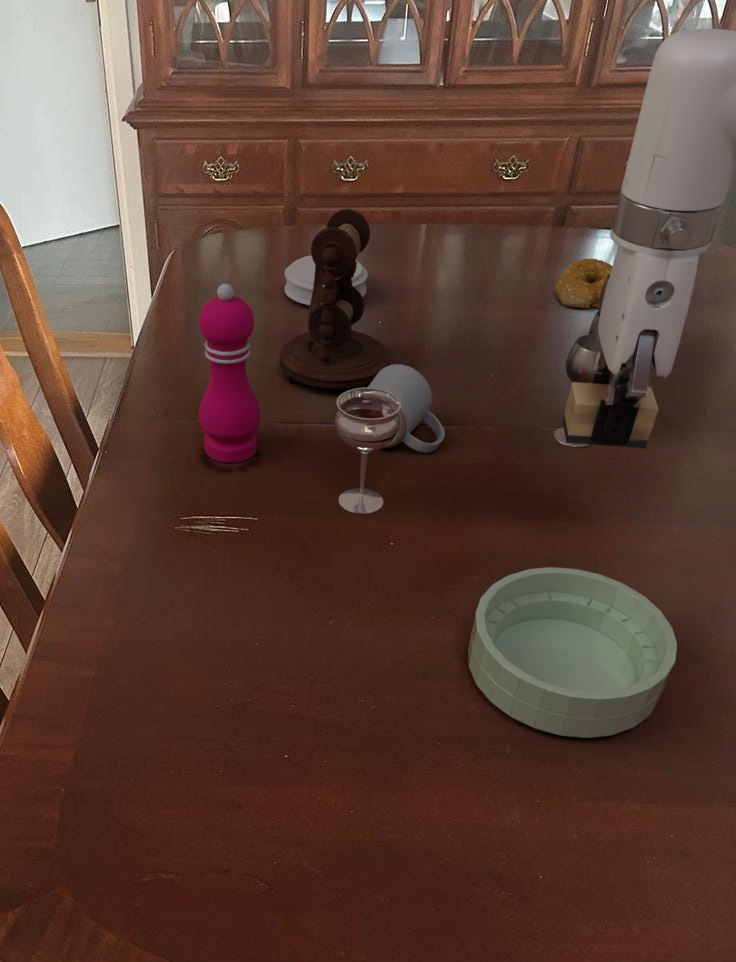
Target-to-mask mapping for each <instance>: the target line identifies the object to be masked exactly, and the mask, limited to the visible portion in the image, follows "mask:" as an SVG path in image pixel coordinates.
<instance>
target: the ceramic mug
mask: <svg viewBox="0 0 736 962" xmlns="http://www.w3.org/2000/svg"><path fill="white" fill-rule="evenodd" d="M366 388H377V389H382V390H385V391H388V392H391V393H393V394H394V395H395V396H397V397H398V398H399V400H400V401H401V408H400V410H399V411H398V413H399V417H400V426H399V431H398V432H397V434H396V436H395V437H394V439H393V440H392V441H391V442H390V443H389V444H387V445H386V446H384V447H383V448H382V449H390V448H393V447H396V446H397V445H399V444H400V443H403V444H405V446H407V447H408V448H410V449H412V450H414V451H416V452H418V453H423V454H427V453H432V452H434V451H435V450H436V451H437V449H438V448H439V447H440V445H441V444H442V443H443V441H444V439H445V436H446V433H445V429H444V426H443V425H442V423H441V422H440V420H439V419H438V418H437V416H436V415H435V414H434V413H432V412H431V411H430V410H431V407H432V404H433V394H432V390H431V387H430V385H429V383H428V381H427V379H425V376H423V375H422V374H421V373H420V372H419V371H418V370H416V369H415V368H414V367H412V366H409V365H405V364H400V363H399V364H397V363H396V364H395V363H394V364H390V365H389V366H387V367H385V368H383V369H382V370H381V371H380V372H379V373H378V374H377V375H376V377H375V378H374V379H373V381H372V382H371V383H369V384H368V386H367V387H366ZM421 422H424V424H426V425H427V426H428V427H429V428H430V429H431V430H432V432H433V434H434V435H435V438H436V440H435V441H434V442H431V443H430V442H425V441H422V440H420V439H419V438H417V437H415V436H414V435H412V434H411V433H412V432H413V431H414V430H415V428H416V427H417V426H418V425H419V424H420V423H421Z"/></svg>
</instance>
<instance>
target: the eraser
mask: <svg viewBox="0 0 736 962" xmlns="http://www.w3.org/2000/svg"><path fill="white" fill-rule="evenodd" d="M619 386H620V385H618V387H619ZM618 387H617V389H618ZM607 389H608V384H593V383H577V382H571V384H570V388H569V392H568V395H567V396H568V397H567V399H566V400H567V401H566V405H565V408H564V413H563V417H562V427H564V432H565V438H566V443H576V444H590V445H589V446H605V447H618V448H619V447H620V448H634V449H646V448H647V447H648V443H649V439H650V437H651V433H652V431H653V428H654V425H655V422H656V419H657V416H658V413H659V406H658V403H657V400H656V397H655V395H654V394H655V393H654V391H653V388H652V387H651V386H648V387H647V393H646V396H645V397H644V398H642V401H641V405H640V407H639V410H638V413H637V416H636V420H635V423H634V426H633V429H632V433H631V436H630V439H629V442H628V444H626V445H612V444H598V443H593V442H592V440H591V435H592V431H593V427H594V424H595V420H596V416H597V413H598V409H599V405H600V402H601V400H605V398H606V394H607Z"/></svg>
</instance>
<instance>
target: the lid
mask: <svg viewBox="0 0 736 962" xmlns="http://www.w3.org/2000/svg"><path fill="white" fill-rule="evenodd" d="M356 262H357V267H356V272H355V274H353V275H354V277H353V278H351V280H352V284H353V287H354V288H356V289H357V290H358V291H359V292H360V294H361V295H362V297H363V298H364V297H365V296H366V294H367V286H366V281H367V279H368V270H367V269H366V267H364V266H363V265H362V264H361V263H360V262H359V261H357V260H356ZM314 276H315V263H314V261H313V259H312V255H311V254H310V255H307V256H303V257H300V258H297V259H296V260H294V261H293V262H292V263H291V264H290V265H288V266H287V267H285V270H284V278H285V280H286V283H285V285H284V293H285V295H286V296H287V297H288V298H290V299H291V300H293V301H294V302H296V303H300V304H303V305H306V306H310V302H311V297H312V291H313V285H314ZM323 287H324V285H323ZM321 305H322V303H321Z"/></svg>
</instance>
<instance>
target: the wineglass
mask: <svg viewBox="0 0 736 962" xmlns="http://www.w3.org/2000/svg"><path fill="white" fill-rule="evenodd" d="M336 407H337V409H338V410H337V411H336V413H335V417H334V425H335V426H334V427H335V430H336V434H337V435H338V437H339V439H340V440H341V441H342V442H343V443H344V444H345V445H346V446H348V447H349V448H350V449H352V450H355V451H357V452H359V453H360V475H359V476H360V477H359V479H360V480H359V481H360V482H359V487H355V488H351V489H346V490H344V491H343V492H341V494H340V495H339V497H338V504H339V506H341V507H342V508H343V509H344V510H345V511H347V512H350V513H354V514H360V515H361V514H362V515H365V514H373V513H375V512H378V510H380V509H381V508H382V507H383V505H384V498H383V496H382V495H381V494H380V493H378V492H377V491H375V490H373V489H369V488H365V484H366V483H365V482H366V474H367V468H368V460H369V454H371V453H373V452H377V451H379V450H381V449H384V448H383V447H384V446H386V445H387V444H389V443H390V442H391V441H392V440H393V439H394V437H395V436H396V434H397V432H398V431H399V426H400V417H399V413H398V411H399V410H400V408H401V401H400V400H399V398H398V397H397V396H395V395H394V394H393V393H391V392H388V391H385V390H382V389H377V388H367V387H363V388H356V389H355V388H352V389H349V390H345V391H344V392H342V393H341V394H340V395H339V396H338V397H337V399H336Z"/></svg>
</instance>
